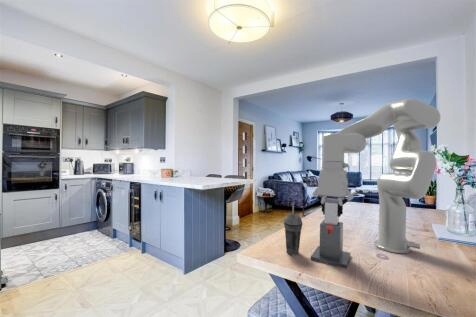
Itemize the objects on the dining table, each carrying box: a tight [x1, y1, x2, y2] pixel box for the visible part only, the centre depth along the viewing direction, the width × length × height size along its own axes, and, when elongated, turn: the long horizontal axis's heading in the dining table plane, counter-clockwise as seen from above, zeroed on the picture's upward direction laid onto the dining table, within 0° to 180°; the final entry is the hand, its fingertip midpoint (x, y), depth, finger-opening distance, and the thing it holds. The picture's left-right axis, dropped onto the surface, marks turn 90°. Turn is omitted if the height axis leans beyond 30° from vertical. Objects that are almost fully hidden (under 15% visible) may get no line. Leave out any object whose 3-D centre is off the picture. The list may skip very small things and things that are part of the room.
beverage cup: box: [283, 202, 303, 256], centre depth 91 cm, size 7×7×20 cm
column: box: [324, 197, 340, 226], centre depth 87 cm, size 4×4×20 cm
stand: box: [310, 219, 351, 269], centre depth 87 cm, size 12×12×13 cm
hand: (331, 214), depth 87 cm, fingers closed on column, 4 cm apart
